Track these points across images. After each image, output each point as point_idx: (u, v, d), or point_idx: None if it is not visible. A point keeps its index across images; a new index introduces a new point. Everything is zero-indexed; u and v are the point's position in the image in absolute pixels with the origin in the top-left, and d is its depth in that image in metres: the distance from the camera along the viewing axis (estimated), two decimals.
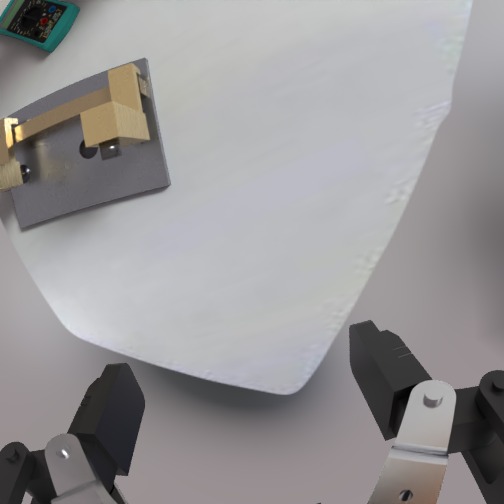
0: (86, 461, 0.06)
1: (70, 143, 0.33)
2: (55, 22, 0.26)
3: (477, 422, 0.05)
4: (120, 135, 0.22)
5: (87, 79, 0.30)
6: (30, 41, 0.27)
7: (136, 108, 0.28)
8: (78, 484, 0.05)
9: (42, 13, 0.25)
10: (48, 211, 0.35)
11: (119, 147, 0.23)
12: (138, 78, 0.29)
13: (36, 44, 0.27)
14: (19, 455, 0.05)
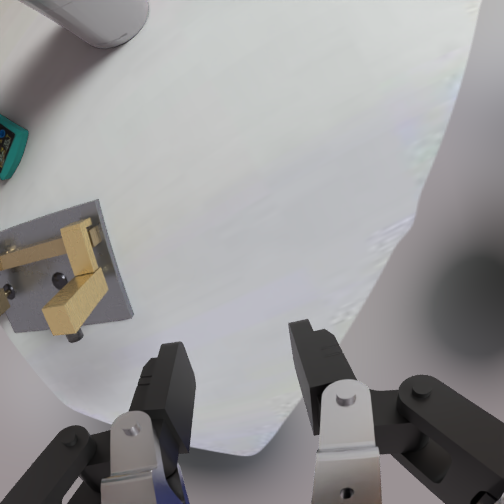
0: (153, 445, 0.06)
1: (43, 274, 0.37)
2: (7, 151, 0.30)
3: (394, 426, 0.06)
4: (77, 329, 0.26)
5: (47, 217, 0.34)
6: None
7: (91, 269, 0.33)
8: (137, 467, 0.06)
9: None
10: (36, 324, 0.39)
11: (79, 332, 0.28)
12: (89, 232, 0.33)
13: None
14: (80, 439, 0.06)
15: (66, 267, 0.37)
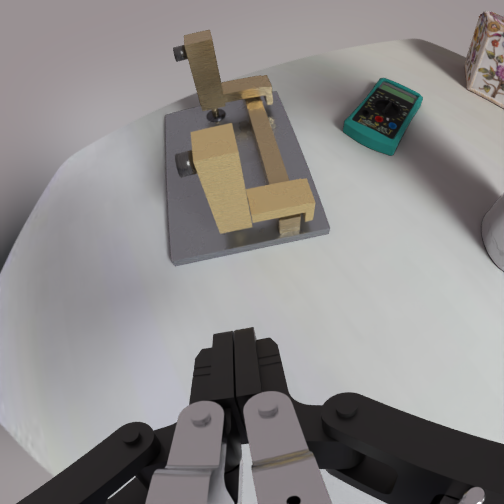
0: (219, 442, 0.06)
1: None
2: (375, 129, 0.35)
3: (315, 443, 0.06)
4: (196, 166, 0.20)
5: (306, 169, 0.34)
6: (357, 108, 0.37)
7: (255, 211, 0.27)
8: (196, 463, 0.06)
9: (389, 117, 0.36)
10: (172, 140, 0.38)
11: (187, 171, 0.22)
12: (298, 216, 0.29)
13: (352, 113, 0.37)
14: (143, 437, 0.07)
15: None
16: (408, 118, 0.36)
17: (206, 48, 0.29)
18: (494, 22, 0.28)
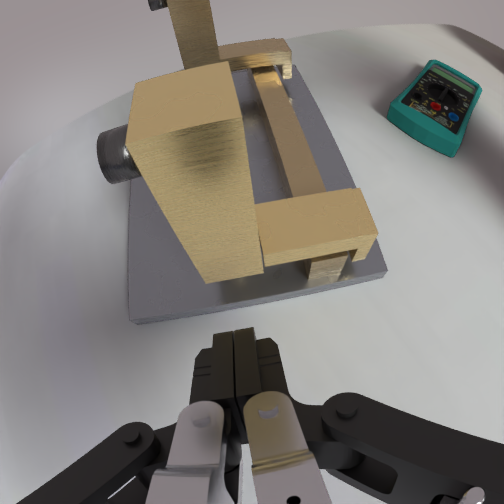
0: (219, 442, 0.06)
1: None
2: (432, 118, 0.23)
3: (315, 443, 0.06)
4: (135, 155, 0.08)
5: (346, 173, 0.22)
6: (406, 89, 0.25)
7: (270, 248, 0.15)
8: (196, 463, 0.06)
9: (448, 106, 0.23)
10: None
11: (122, 169, 0.09)
12: (343, 255, 0.16)
13: (400, 95, 0.24)
14: (143, 437, 0.07)
15: None
16: (470, 111, 0.23)
17: None
18: None
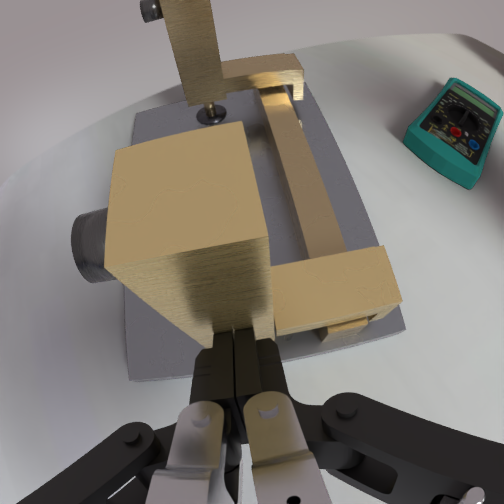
0: (219, 442, 0.06)
1: None
2: (452, 146, 0.21)
3: (315, 443, 0.06)
4: (119, 276, 0.06)
5: (364, 215, 0.20)
6: (425, 111, 0.23)
7: (284, 322, 0.13)
8: (196, 463, 0.06)
9: (469, 131, 0.22)
10: None
11: (106, 273, 0.07)
12: (363, 323, 0.14)
13: (419, 117, 0.23)
14: (143, 437, 0.07)
15: None
16: (491, 137, 0.21)
17: None
18: None
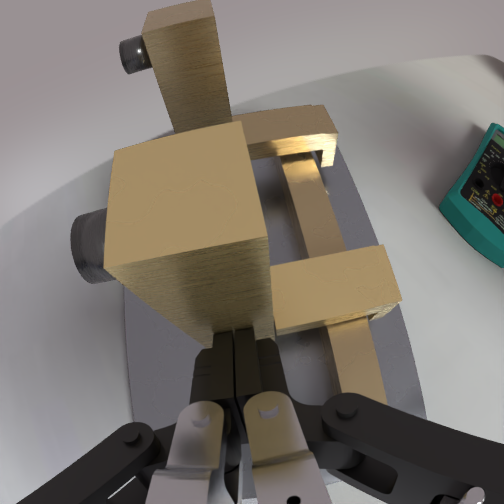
0: (219, 442, 0.06)
1: None
2: (492, 219, 0.18)
3: (315, 443, 0.06)
4: (119, 277, 0.06)
5: (401, 326, 0.16)
6: (467, 171, 0.20)
7: (284, 322, 0.13)
8: (196, 463, 0.06)
9: None
10: None
11: (106, 274, 0.07)
12: None
13: (460, 180, 0.19)
14: (143, 437, 0.07)
15: None
16: None
17: (198, 38, 0.11)
18: None
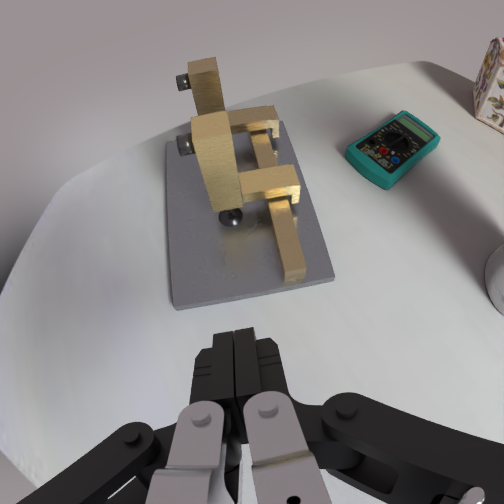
0: (219, 442, 0.06)
1: None
2: (375, 160, 0.36)
3: (315, 443, 0.06)
4: (194, 145, 0.23)
5: (312, 211, 0.34)
6: (365, 136, 0.38)
7: (245, 191, 0.30)
8: (196, 463, 0.06)
9: (395, 151, 0.36)
10: (174, 172, 0.38)
11: (186, 150, 0.24)
12: (304, 267, 0.28)
13: (358, 140, 0.37)
14: (143, 436, 0.07)
15: (248, 228, 0.33)
16: (415, 156, 0.36)
17: (211, 78, 0.28)
18: None
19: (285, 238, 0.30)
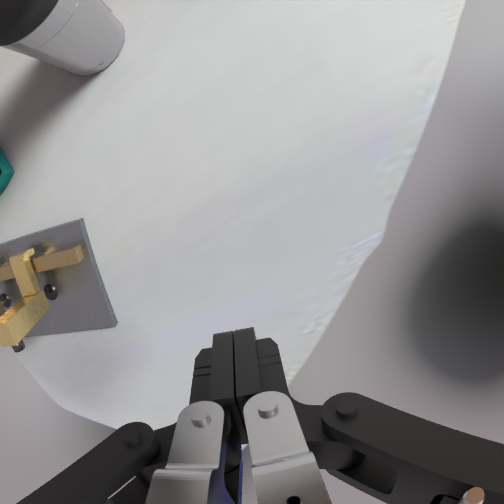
0: (219, 442, 0.06)
1: None
2: None
3: (315, 443, 0.06)
4: (17, 342, 0.29)
5: (37, 234, 0.37)
6: None
7: (33, 291, 0.35)
8: (196, 463, 0.06)
9: None
10: (30, 331, 0.42)
11: (21, 344, 0.30)
12: (74, 249, 0.36)
13: None
14: (143, 437, 0.07)
15: (56, 279, 0.39)
16: None
17: None
18: None
19: (58, 261, 0.36)
